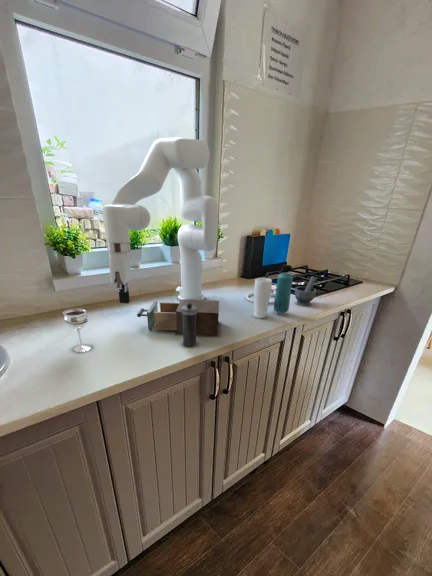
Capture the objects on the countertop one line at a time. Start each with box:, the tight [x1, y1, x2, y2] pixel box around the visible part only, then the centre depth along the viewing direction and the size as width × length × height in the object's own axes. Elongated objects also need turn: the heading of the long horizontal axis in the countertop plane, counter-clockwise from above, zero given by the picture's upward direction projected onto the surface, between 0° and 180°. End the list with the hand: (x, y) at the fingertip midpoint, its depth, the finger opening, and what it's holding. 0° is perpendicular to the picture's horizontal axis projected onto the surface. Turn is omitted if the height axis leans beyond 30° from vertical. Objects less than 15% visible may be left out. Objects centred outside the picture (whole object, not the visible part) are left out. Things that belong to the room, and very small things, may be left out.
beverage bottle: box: [273, 264, 294, 314], centre depth 133 cm, size 6×7×20 cm
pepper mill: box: [181, 303, 197, 348], centre depth 104 cm, size 5×5×14 cm
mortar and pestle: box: [294, 276, 317, 307], centre depth 148 cm, size 11×9×12 cm
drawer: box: [136, 300, 180, 332], centre depth 118 cm, size 18×13×7 cm
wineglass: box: [62, 308, 91, 353], centre depth 99 cm, size 7×7×12 cm
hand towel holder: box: [245, 284, 277, 305], centre depth 156 cm, size 17×4×20 cm
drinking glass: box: [252, 277, 273, 319], centre depth 130 cm, size 7×7×15 cm
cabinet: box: [176, 299, 220, 338], centre depth 118 cm, size 15×15×9 cm
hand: (124, 302), depth 116 cm, fingers closed
